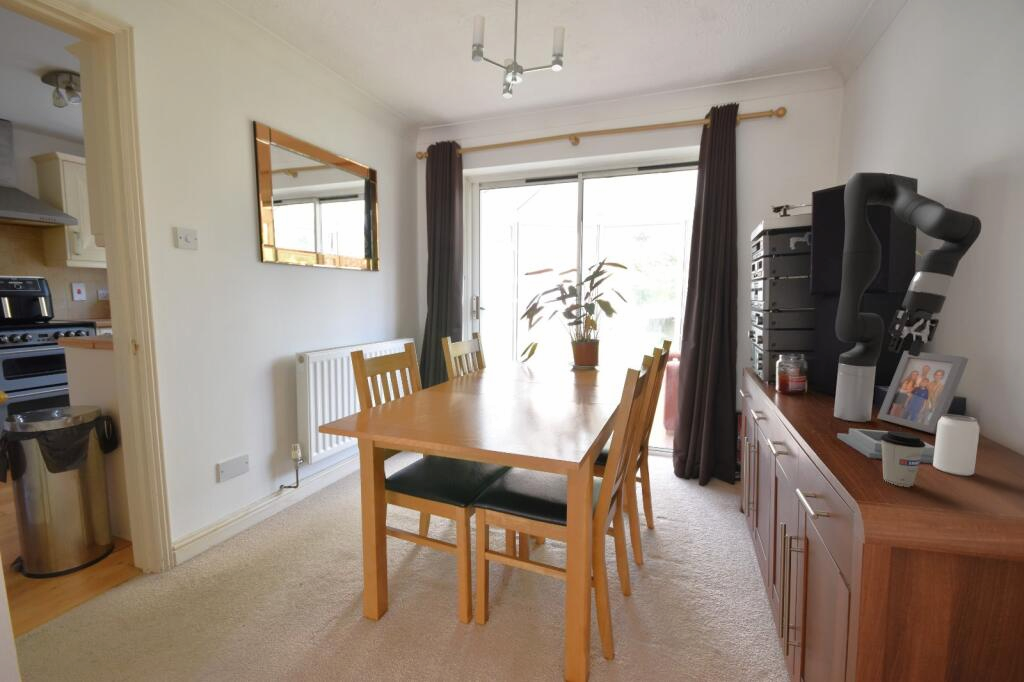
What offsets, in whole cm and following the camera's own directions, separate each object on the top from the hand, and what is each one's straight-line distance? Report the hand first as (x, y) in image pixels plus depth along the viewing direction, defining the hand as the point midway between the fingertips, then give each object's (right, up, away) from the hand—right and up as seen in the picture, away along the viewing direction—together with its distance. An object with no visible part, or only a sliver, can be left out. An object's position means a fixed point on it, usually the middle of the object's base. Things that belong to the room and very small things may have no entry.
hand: (903, 353), depth 116 cm
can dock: (-7, -24, -5) cm, 25 cm away
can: (-4, -25, -17) cm, 31 cm away
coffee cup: (-22, -26, -24) cm, 42 cm away
